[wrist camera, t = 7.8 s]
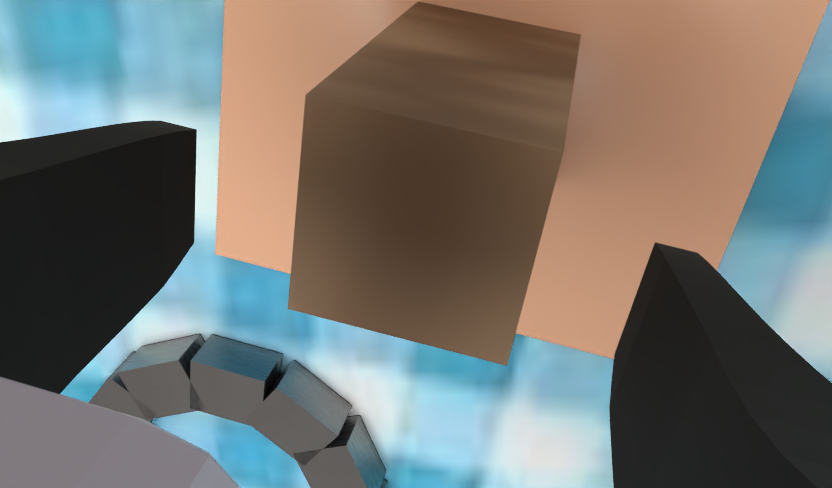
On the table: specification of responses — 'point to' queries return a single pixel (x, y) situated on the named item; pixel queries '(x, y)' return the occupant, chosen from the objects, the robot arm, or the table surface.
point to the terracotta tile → (584, 144)
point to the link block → (432, 178)
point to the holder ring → (249, 403)
